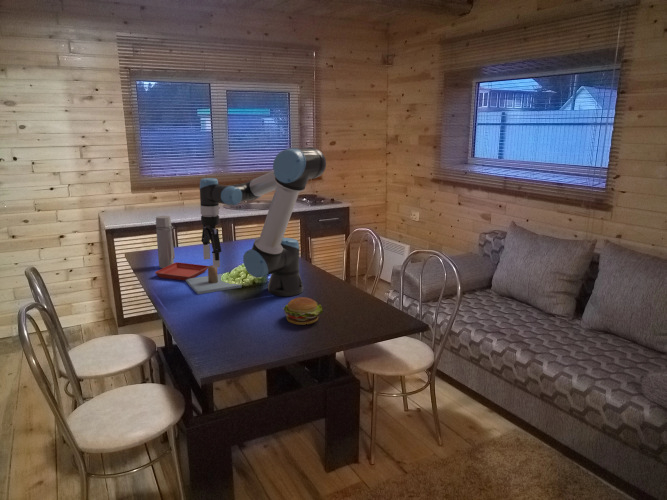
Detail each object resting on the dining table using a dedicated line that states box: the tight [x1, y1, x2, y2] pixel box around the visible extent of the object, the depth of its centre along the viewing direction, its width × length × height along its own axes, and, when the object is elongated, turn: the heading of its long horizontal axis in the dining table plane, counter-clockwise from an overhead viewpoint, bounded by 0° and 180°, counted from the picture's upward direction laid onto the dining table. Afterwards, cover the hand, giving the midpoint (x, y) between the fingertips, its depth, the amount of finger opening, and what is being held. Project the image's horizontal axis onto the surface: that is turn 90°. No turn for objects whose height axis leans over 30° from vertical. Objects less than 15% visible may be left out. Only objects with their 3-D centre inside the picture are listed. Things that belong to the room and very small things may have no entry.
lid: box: [185, 264, 243, 295], centre depth 220 cm, size 19×19×8 cm
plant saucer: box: [154, 261, 209, 282], centre depth 235 cm, size 18×18×3 cm
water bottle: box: [155, 215, 175, 269], centre depth 244 cm, size 9×8×25 cm
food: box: [282, 296, 324, 326], centre depth 185 cm, size 14×14×8 cm
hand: (211, 263), depth 219 cm, fingers open, 13 cm apart
